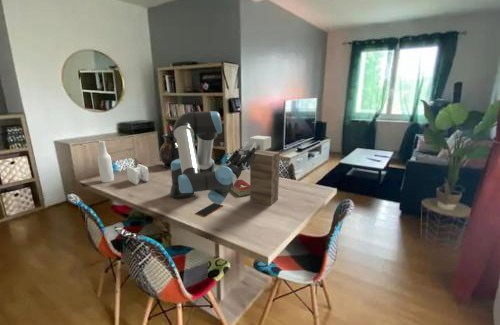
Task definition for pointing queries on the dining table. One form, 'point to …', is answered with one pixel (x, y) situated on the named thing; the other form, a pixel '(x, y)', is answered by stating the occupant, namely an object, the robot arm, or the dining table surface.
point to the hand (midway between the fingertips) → (251, 143)
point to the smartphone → (209, 210)
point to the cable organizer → (137, 174)
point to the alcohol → (105, 164)
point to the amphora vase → (169, 150)
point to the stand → (264, 177)
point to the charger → (261, 142)
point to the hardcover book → (241, 188)
